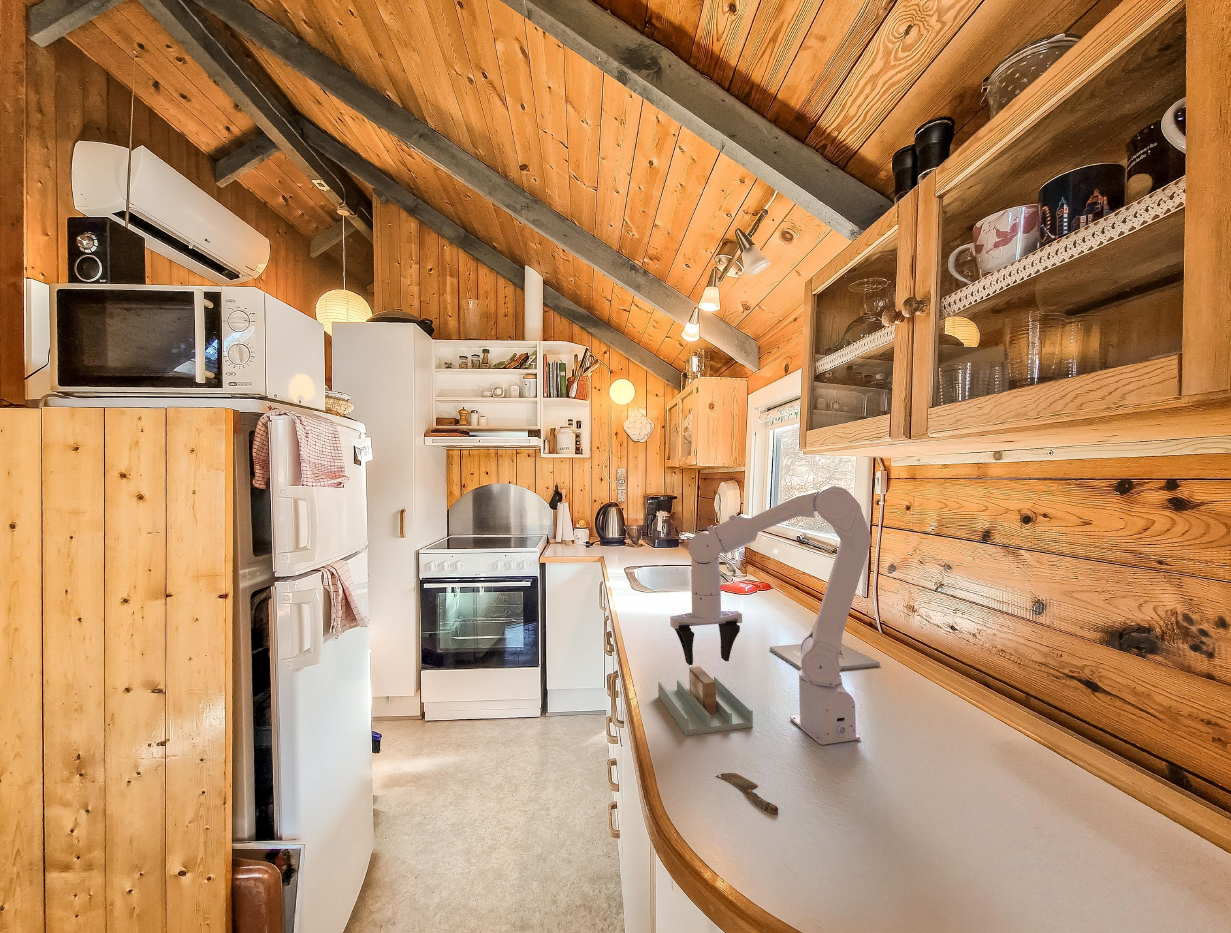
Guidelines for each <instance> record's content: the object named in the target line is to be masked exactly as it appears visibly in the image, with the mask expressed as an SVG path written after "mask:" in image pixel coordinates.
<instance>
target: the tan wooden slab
mask: <svg viewBox="0 0 1231 933" xmlns="http://www.w3.org/2000/svg"><path fill="white" fill-rule="evenodd" d="M688 669H689V688H690V693H691V694H692V695H693V696H694V697H695V698H696V699H697V701H698V702H699V703H700V704H701V705H702V706H703V708H704V709H705V710H706V711H707V712H708V713H709V715H714V714H716V682H715V681H714V678H712V677H711V675H710V674H708V673H707V672H706V671H705V670H704V669H703V668H702V667H701V666H689V668H688Z"/></svg>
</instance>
